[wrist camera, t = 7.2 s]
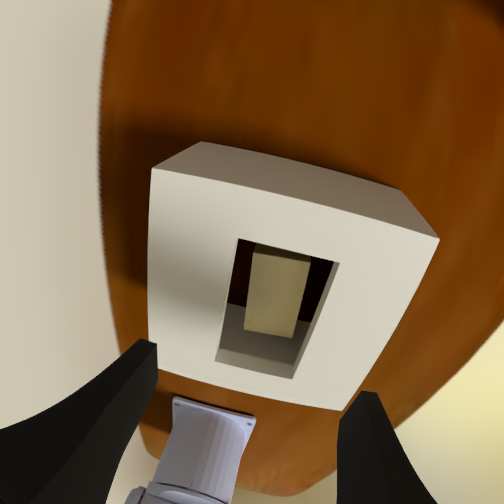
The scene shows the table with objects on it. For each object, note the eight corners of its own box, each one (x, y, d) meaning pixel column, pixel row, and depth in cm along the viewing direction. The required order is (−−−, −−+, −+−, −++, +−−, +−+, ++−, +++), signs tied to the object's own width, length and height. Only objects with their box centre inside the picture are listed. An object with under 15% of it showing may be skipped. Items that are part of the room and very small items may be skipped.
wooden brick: (296, 288, 20) (291, 338, 16) (256, 281, 20) (243, 329, 16) (310, 222, 18) (310, 262, 14) (266, 214, 18) (253, 252, 14)
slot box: (338, 340, 21) (342, 410, 16) (183, 302, 22) (150, 365, 17) (400, 190, 16) (440, 239, 11) (201, 141, 16) (151, 168, 11)
